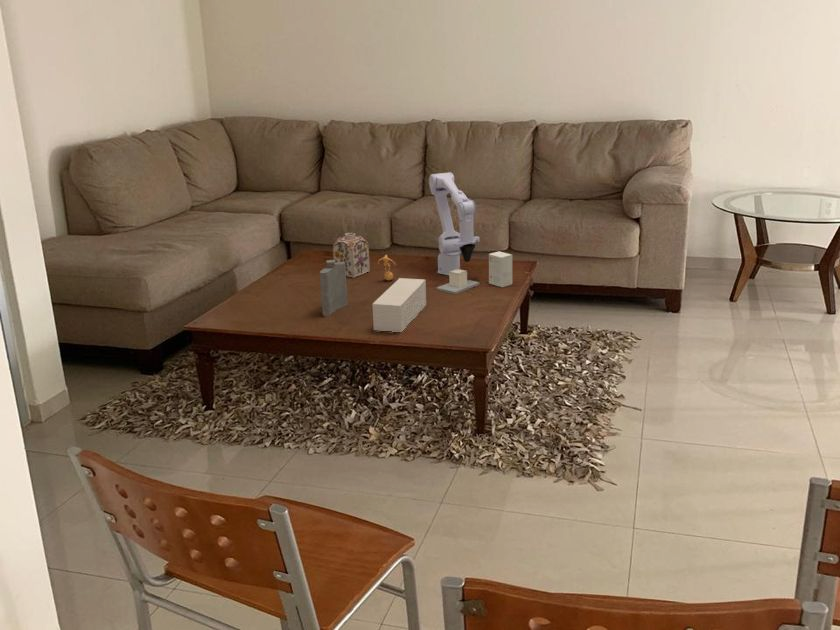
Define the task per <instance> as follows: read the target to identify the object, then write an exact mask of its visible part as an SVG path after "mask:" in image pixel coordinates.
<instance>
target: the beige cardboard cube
mask: <svg viewBox="0 0 840 630" xmlns="http://www.w3.org/2000/svg"><path fill="white" fill-rule="evenodd" d="M448 276H449V277H448V278H449V279H448V281H449V282H448V283H450V286H454V287H459V288H460V287H462V286H465V285H467V280H468V271H467V270H464V269H461V268H460V269H455V270H452V271H450V272H449V275H448Z"/></svg>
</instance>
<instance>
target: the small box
mask: <svg viewBox="0 0 840 630" xmlns="http://www.w3.org/2000/svg"><path fill="white" fill-rule="evenodd" d="M488 284H490V285H492V286H493V285H494V286H496V287H499V288H504V287H508V286H511V285H513V254H511V253H507V252H504V251H503V252H502V251H501V250H500V251H495V252H491V253H488Z"/></svg>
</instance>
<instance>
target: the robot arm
mask: <svg viewBox="0 0 840 630" xmlns="http://www.w3.org/2000/svg"><path fill="white" fill-rule="evenodd" d="M428 184H429V189H430V192H431V195H433V196H434V197H435V198H434V199H435V203H436V207H437V212H438V215H439V219H440V224H441V229H442V233H441V234H440V236H439V237H438V250H439V252H440V253H439V254H438V256H437V271H436V273H437V274H441V275H445V276H449V272H450V271H452V270H455V269H461V254H462V258H463V261H464V262H465V263H469V262H470V261H471V258H472V255H473V251H474V250H475V248H476V244H475V243H477V242H478V243H479V242H480V241H481V239H480V236H474V235H475V234H474V233H475V232H474V215H475V214H476V212H477V205H476V202H475V201H474V200H473V199H469V198H468V197H467V196H466V194H465V193H464V191H462V190H459V188H458V187H457V185H456V183H455V175H454V173H452V172H451V171H448V172H442V173H441V172H440V173H431V174H430V176H429V178H428ZM448 194H450V198H451V201H452V203H453V204H454V205H455V206H456V211H457V214H458V216H457V217H458V219H459V232H458V231H456V230H455V227H454V223H453V218H452V214H451V209H450V206H449V205H450V204H449V202H448V196H447V195H448Z"/></svg>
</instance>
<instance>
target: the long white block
mask: <svg viewBox="0 0 840 630" xmlns="http://www.w3.org/2000/svg"><path fill="white" fill-rule="evenodd" d="M426 281H427V280H426V279H423V278H422V279H420V278H419V279H418V278H403V277H399V278H398V279H397V280H396V281H395V282H394V283H393V284H392V285H391V286H390V287H388V288H387V289H386V290H385V291H384V292H383V293H382V294H381V295H380V296H379V297H378V298H377V299H375V300H374V302H373V303H372V305H371V306H372V320H373V322H372V323H373V331H374V330H378V331H377V332H380V331H392V332H391V333H393V332H402V331H403V330H404V329H405V328H406V329H407V327H408V326H409V325H410V324H411V323H412V322H413V321H414V320H415V319H416V317H417V316H418V315H419V314H420V313H421V312H422V310H423V309H424V308H426V306H427V290H426V287H427V285H426V284H427V283H426ZM420 311H421V312H420ZM419 312H420V313H419ZM418 313H419V314H418ZM413 319H414V320H413ZM412 320H413V321H412ZM411 321H412V322H411ZM410 322H411V323H410ZM409 323H410V324H409ZM408 324H409V325H408ZM407 325H408V326H407ZM406 326H407V327H406ZM406 329H405V330H406ZM379 330H380V331H379ZM405 330H404V331H405ZM404 331H403V332H404ZM403 332H402V333H403Z"/></svg>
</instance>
